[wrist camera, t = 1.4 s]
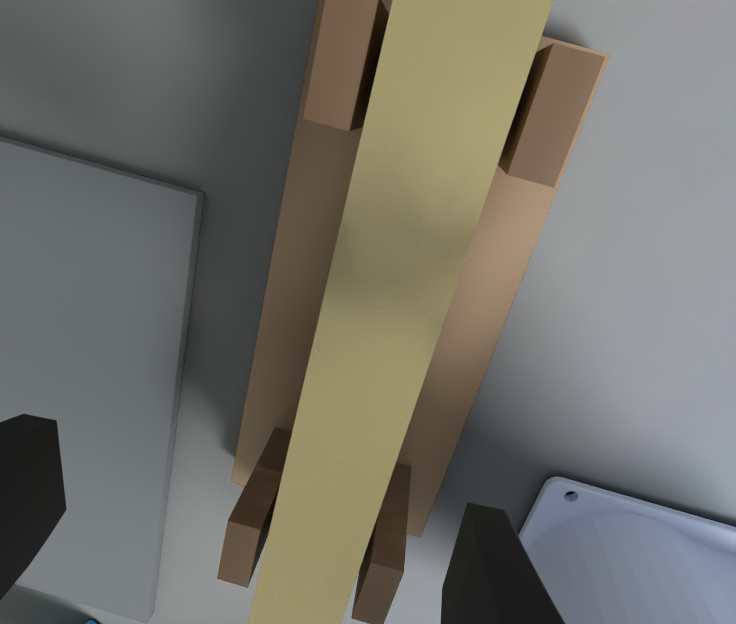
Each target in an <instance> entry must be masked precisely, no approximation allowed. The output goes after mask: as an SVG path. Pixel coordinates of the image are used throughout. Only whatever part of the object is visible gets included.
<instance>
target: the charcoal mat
mask: <svg viewBox="0 0 736 624" xmlns="http://www.w3.org/2000/svg"><path fill="white" fill-rule="evenodd" d="M203 201H204V193H201V192H198V191H194V190H191V189H187V188H183V187H180V186H176V185H173V184H169V183H166V182H162V181H158V180H155V179H151V178H148V177H144V176H141V175H137V174H133V173H130V172H126V171H123V170H119V169H116V168H112V167H108V166H105V165H101V164H98V163H94V162H91V161H87V160H83V159H80V158H76V157H73V156H69V155H65V154H62V153H58V152H55V151H51V150H48V149H44V148H40V147H37V146H33V145H30V144H26V143H23V142H19V141H15V140H12V139H8V138H5V137H1V136H0V422H2V421H5V420H7V419H10V418H13V417H16V416H19V415H21V414H28V415H33V416H38V417H43V418H48V419H53V420H57V427H58V436H59V445H60V454H61V463H62V472H63V481H64V490H65V499H66V508H67V510H66V511H65V513H64V514H63V516H62V518H61V519H60V521H59V522H58V524H57V525H56V527H55V528H54V530H53V531H52V533H51V535H50V536H49V538H48V539H47V541H46V542H45V544H44V545H43V546H42V548H41V549H40V551H39V552H38V554H37V555H36V556H35V558H34V559H33V561H32V562H31V564H30V565H29V566H28V568H27V569H26V570H25V571H24V572H23V574H22V575H21V576H20V577H19V578H18V580H17V581H16V582H15V583H14V584H16V585H20V586H23V587H27V588H30V589H33V590H37V591H40V592H43V593H47V594H50V595H53V596H57V597H60V598H63V599H67V600H70V601H74V602H77V603H80V604H84V605H87V606H90V607H94V608H97V609H100V610H104V611H107V612H110V613H114V614H117V615H121V616H124V617H127V618H131V619H134V620H137V621H141V622H144V623H147V624H148V622H149V620H150V618H151V617H152V615H153V613H154V606H155V597H156V589H157V581H158V573H159V564H160V556H161V548H162V540H163V531H164V523H165V515H166V507H167V498H168V490H169V482H170V474H171V465H172V457H173V449H174V441H175V432H176V424H177V416H178V408H179V399H180V391H181V383H182V375H183V366H184V358H185V350H186V342H187V333H188V325H189V317H190V309H191V300H192V292H193V284H194V276H195V267H196V259H197V251H198V243H199V234H200V226H201V218H202V210H203Z"/></svg>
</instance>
